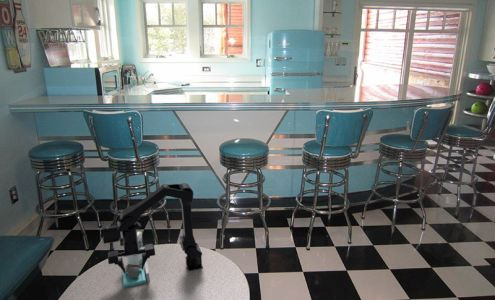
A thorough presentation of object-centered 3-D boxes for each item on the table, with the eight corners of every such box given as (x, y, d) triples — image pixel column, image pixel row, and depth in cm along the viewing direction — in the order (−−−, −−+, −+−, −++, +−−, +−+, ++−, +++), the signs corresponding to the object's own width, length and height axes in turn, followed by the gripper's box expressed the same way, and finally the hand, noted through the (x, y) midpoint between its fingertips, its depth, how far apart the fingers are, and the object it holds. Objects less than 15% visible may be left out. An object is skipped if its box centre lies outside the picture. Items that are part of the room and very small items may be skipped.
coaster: (144, 270, 156) (144, 268, 155) (146, 282, 148) (145, 279, 147) (123, 275, 153) (122, 272, 152) (123, 287, 144) (123, 284, 144)
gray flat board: (147, 267, 158) (146, 259, 157) (149, 281, 149) (149, 273, 147) (144, 267, 158) (144, 259, 157) (146, 281, 148) (146, 273, 147)
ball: (140, 279, 149) (139, 269, 147) (128, 282, 147) (127, 272, 146) (139, 273, 153) (138, 263, 152) (128, 275, 151) (126, 265, 150)
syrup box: (138, 265, 159) (136, 237, 156) (127, 264, 161) (124, 236, 157) (144, 258, 165) (142, 231, 161) (133, 257, 166) (130, 230, 162)
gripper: (151, 226, 155) (153, 256, 159) (106, 233, 149) (110, 265, 153) (153, 237, 145) (156, 270, 149) (106, 246, 139) (110, 280, 143)
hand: (133, 270), depth 149 cm, fingers open, 7 cm apart
